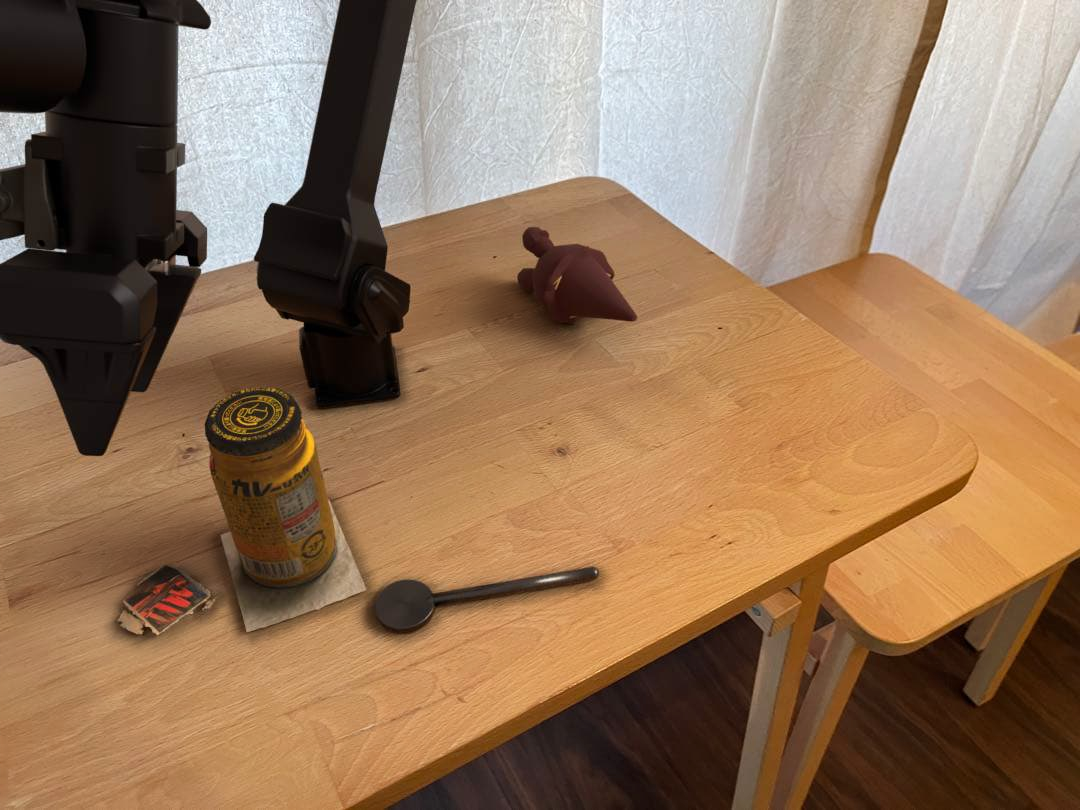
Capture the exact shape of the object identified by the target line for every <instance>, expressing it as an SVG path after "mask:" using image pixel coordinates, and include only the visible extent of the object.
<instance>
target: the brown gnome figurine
mask: <svg viewBox="0 0 1080 810" xmlns="http://www.w3.org/2000/svg"><path fill="white" fill-rule="evenodd" d="M521 236H522V237H521V238H522V246H523V247H524V249H525V250H527V251H528V252H529V253H531V254H533V255H534V256H535V257H536V258H537V262H536V264H535V267H523V268H522V269H521V270H520V271H519V272H518V273H517V276H516V278H517V283H518V285H519V286H521V287H522V288H523V289H524V290H526V291H527V292H530V293H534V296H535V299H536V301H537V302H538V304H540V305H541V307H543V308H544V309H545V310H546V311H547V312H548V313H549V316H550V318H551V320H553V321H555V322H560V323H565V324H570V325H575V324H577V323H578V322H580V321H581V320H582V319H585V318H589V319H590V318H592V319H600V320H601V319H602V320H612V321H613V320H614V321H622V322H636V321H637V319H638V315H637V314H636V312H635V310H634V309H633V307H632V306H631V305H630V303H629V302H628V301H627V300H626V298H625V297H624V295H623V293H622V292H621V291H620V289H619V288H618V287H617V286H616V284H615V283H614V281H613V279H614V277H615V276H616V274H615V271H614V269H613V268H612V266H611V265H610V263H609V262H608V259H607V256H606V255H605V253H604V252H603V251H602V250H599V249H595V248H592V247H590V246H588V245H584V244H580V243H568V244H560V245H555V244H554V242H553V241H552V240H551V238H550V233H549V231H547V230H546V229H541V228H540V227H539V226H528V227H526V229H525V230H524V231H523V233H522V235H521Z"/></svg>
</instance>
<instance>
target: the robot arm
mask: <svg viewBox="0 0 1080 810" xmlns="http://www.w3.org/2000/svg"><path fill="white" fill-rule="evenodd" d="M417 1H418V0H339V3H338V8H337V13H336V18H335V22H334V28H333V33H332V38H331V43H330V47H329V53H328V58H327V62H326V67H325V72H324V77H323V82H322V87H321V93H320V98H319V103H318V108H317V112H316V118H315V123H314V128H313V133H312V137H311V142H310V147H309V148H310V149H309V152H308V158H307V162H306V167H305V173H304V177H303V181H302V184H301V186H300V187H299V189H297V191H296V192H295V193H294V194H293V195H292V196H291V197H290V198H289V199H288V201H286V203H284V204H282V203H277V202H271V203H270V204H269V205H268V206H267V208H266V209H265V212H264V214H263V220H262V221H263V222H262V230H261V232H262V233H261V237H260V242H259V245H258V248H257V250H256V252H255V253H254V256H253V261H254V262H257V265H256V285H257V288H258V289H259V290H261V293H262V294H263V297H264V300H265V301H266V303H267V304H268V305H269V306H270V307H271V308H272V309H275V311H276V313H278V315H279V317H280V318H281V319H283V320H287V321H288V320H292V321H297V322H300V323H303V326H301V327H300V328H299V330H298V332H299V333H298V347H299V352H300V358H301V362H302V366H303V367H302V368H303V371H304V375H305V379H306V384H307V387H308V388H309V389H310V390H313V389H314V402H315V406H316V408H318V409H327V408H328V409H329V408H334V407H335V408H336V407H342V406H350V405H351V406H352V405H357V404H358V405H359V404H365V403H373V402H380V401H388V400H394V399H398V398H400V397H401V396H402V392H401V391H402V390H401V385H400V377H399V371H398V370H399V369H398V363H397V355H396V348H395V346H394V345H393V338H392V334H396V333H400V332H402V330H404V328H405V324H404V317H405V316H406V315H407V314H408V312H409V310H410V303H411V284H410V283H409V282H406V281H405V280H403V279H401V278H399V277H398V276H395V275H393V274H391V273H390V272H387V271H386V268H387V267H386V266H387V257H388V248H389V246H388V243H387V239H386V237H385V234H384V230H383V228H382V224H381V222H380V218H379V215H378V212H377V210H376V207H375V202H376V194H377V190H378V185H379V181H380V176H381V172H382V171H381V170H382V167H383V162H384V157H385V153H386V147H387V142H388V138H389V133H390V129H391V123H392V119H393V114H394V109H395V105H396V100H397V95H398V90H399V86H400V80H401V77H402V76H401V75H402V72H403V68H404V67H403V66H404V61H405V57H406V52H407V47H408V43H409V38H410V34H411V29H412V24H413V18H414V13H415V11H416V10H415V9H416V5H417ZM211 26H212V18H211V16H210V15H209V13H208V12H207V11H206V9H205V8H204V6H203V5H202V4H201V3H200V2H199V1H198V0H0V113H5V114H6V113H7V114H30V115H33V114H34V115H35V114H43V113H44V122H45V123H44V124H45V125H44V126H45V131H41V132H40V131H39V132H36V133H31V134H30V139H26V140H25V142H24V163H23V164H18V165H14V166H10V167H3V168H0V241H4V240H9V239H13V238H17V237H20V236H24V248H25V250H23V251H21V252H19V253H17V254H16V255H14V256H11V258H8V259H7V260H5V261H3V262H1V263H0V340H1V341H2V342H3V343H5V344H8V345H12V346H13V345H15V346H19V347H21V348H22V349H23V350H25V351H26V352H28V353H29V354H31V355H32V356H34V358H36V359H38V361H40V363H41V364H42V366H43V367H44V369H45V373H46V374H47V376H48V378H49V381H50V382H51V385H52V387H53V389H54V393H55V395H56V397H57V401H58V402H59V405H60V407H61V410H62V412H63V415H64V417H65V420H66V422H67V426H68V428H69V431H70V433H71V437H72V438H73V441H74V443H75V446H76V448H77V452H78V453H79V454H80V455H82V456H85V457H102V456H103V455H105V453H106V452H107V450H108V448H109V446H110V443H111V442H112V438H113V437H114V434H115V432H116V429H117V427H118V424H119V421H120V419H121V417H122V414H123V412H124V409H125V407H126V404H127V402H128V400H129V397H130V396H131V393H132V392H133V393H145V392H147V390H148V388H150V385H151V383H152V381H153V378H154V376H155V374H156V372H157V370H158V367H159V365H160V363H161V360H162V359H163V356H164V354H165V351H166V349H167V347H168V344H169V343H170V340H171V338H172V336H173V334H174V332H175V330H176V328H177V325H178V323H179V321H180V320H181V317H182V314H183V312H184V310H185V308H186V306H187V304H188V301H189V299H190V297H191V295H192V293H193V291H194V289H195V286H196V284H197V282H198V280H199V278H200V277H201V274H202V268H201V266H202V265H203V264H204V263H205V261H206V260H207V259H208V227H207V226H206V225H205V224H204V223H203V222H202V220H200V219H199V218H198V216H196V214H194V212H193V211H189V210H183V209H182V210H181V209H177V207H178V206H177V205H178V204H177V203H178V201H177V199H178V198H177V197H178V168H180V167H182V166H183V165H186V143H183V142H178V127H179V125H178V116H179V115H178V114H179V113H178V112H179V109H178V107H179V98H178V97H179V37H180V35H179V34H180V33H179V32H180V31H179V30H180V29H179V27H182V28H183V27H185V28H190V29H195V30H203V31H205V30H208V29H210V28H211ZM56 250H57V251H56ZM58 250H63V251H58ZM179 256H180V257H186V258H187V263H188V265H183V264H176V261H177V257H179Z"/></svg>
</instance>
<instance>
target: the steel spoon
mask: <svg viewBox="0 0 1080 810" xmlns="http://www.w3.org/2000/svg"><path fill="white" fill-rule="evenodd" d="M599 576H600V571H599V569H598V568H597V567H595V566H589V567H588V566H587V567H582V568H576V569H571V570H565V571H560V572H558V571H557V572H553V573H552V572H551V573H547V574H541V575H535V576H529V577H522V578H517V579H510V580H505V581H499V582H494V583H493V582H492V583H486V584H482V585H481V584H480V585H476V586H475V585H474V586H469V587H463V588H457V589H452V590H446V591H439V592H434V593H433V591H432V589H431V587H429V586H428V585H427V584H425V583H423V582H422V581H419V580H415V579H400V580H397V581H394V582H392V583H390V584H388V585H387V586H385V587H384V588H383V589H382V590H381V591H380V592H379V593H378V595H377V597H376V599H375V602H374V612H375V617H376V620H377V622H378V624H379V625H380V626H381V627H382V628H383V629H384V630H386V631H388V632H390V633H394V634H400V635H403V634H412V633H414V632H417V631H420V630H421V629H422V628H424V627H425V626H426V625H427V624H429V623H430V621H431V620H432V619H433V617H434V615H435V612H436V607H442V606H448V605H449V606H450V605H453V604H454V605H455V604H460V603H466V602H472V601H476V600H477V601H478V600H484V599H489V598H494V597H495V598H496V597H501V596H506V595H512V594H519V593H526V592H529V591H530V592H531V591H537V590H542V589H548V588H553V587H559V586H565V585H571V584H577V583H582V582H583V583H584V582H589V581H594V580H595V581H596V580H597V579H598V578H599Z"/></svg>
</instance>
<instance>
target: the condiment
mask: <svg viewBox="0 0 1080 810" xmlns="http://www.w3.org/2000/svg"><path fill="white" fill-rule="evenodd" d="M302 413H303V412H302V410H301V408H300V405H299V403H298V402H297V401H296V399H295V398H294V397H293V395H291V394H289V393H287V392H285V391H284V390H283V389H280V388H276V387H268V386H267V387H265V386H261V387H259V386H258V387H249V388H246V389H241V390H238V391H233V392H232V393H231V394H230V395H227V396H225V397H223V398H222V399H220V400H219V401H218V402H217V403H215V405H214V406H213V407H212V408H211V409H210V410H209V412H208V414H207V417H206V419H205V421H204V435H205V437H206V441H207V442H208V449H209V451H210V455H209V461H208V462H209V463H208V464H209V465H208V466H209V471H210V475H211V480H212V482H213V484H214V487H215V491H216V493H217V497H218V499H219V502H220V504H221V508H222V511H223V513H224V516H225V519H226V522H227V526H228V528H229V531H227V532H224V533H222V534H220V535H219V536H220V538H221V543H222V547H223V551H224V554H225V558H226V561H227V564H228V568H229V572H230V575H231V579H232V584H233V586H234V591H235V594H236V597H237V602H238V605H239V608H240V612H241V616H242V618H243V619H242V620H243V623H244V626H245V630H246V633H250V632H252V631H255V630H256V631H257V630H259V629H261V628H267V627H269V626H272V625H276V624H278V623H281V622H283V621H285V620H286V621H287V620H289V619H294V618H296V617H299V616H301V615H302V616H303V615H304V614H307V613H311V612H312V611H315V610H317V611H319V610H321V609H322V608H324V607H326V606H327V605H330V604H333V603H337V602H339V601H342V600H345V599H346V600H347V599H348V598H350V597H351V596H354V595H357V594H359V593H363V592H365V591H367V587H366V585H365V583H364V580H363V578H362V575H361V573H360V571H359V568H358V566H357V563H356V561H355V559H354V556H353V553H352V552H351V549H350V547H349V544H348V542H347V539H346V537H345V534H344V533H343V530H342V528H341V525H340V522H339V521H338V518H337V515H336V513H335V511H334V508H333V505H332V503H331V501H330V499H329V498H328V494H327V493H328V492H327V488H326V485H325V479H324V476H323V473H322V472H323V471H322V467H321V463H320V460H319V453H318V449H317V443H316V442H315V439H314V437H313V434H312V433H311V432H310V430H309V429H308V428H306V424H305V421H304V419H303V416H302Z"/></svg>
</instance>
